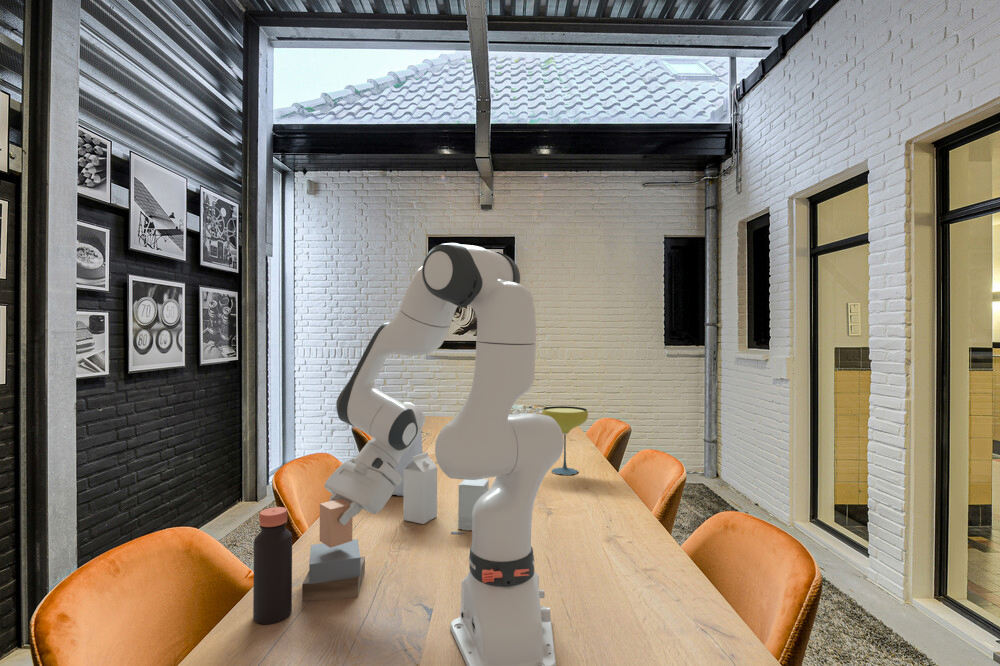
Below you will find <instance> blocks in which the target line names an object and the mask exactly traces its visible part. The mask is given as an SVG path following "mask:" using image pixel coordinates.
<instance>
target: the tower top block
mask: <svg viewBox="0 0 1000 666" xmlns="http://www.w3.org/2000/svg"><path fill="white" fill-rule="evenodd" d="M360 557H361V552H360V545H359V539H358V538H354V539H352V541H350V542H347V543H344V544H341V545H338V546H335V547H331V548H330V547H328V546H327V545H325V544H324V543H322V542H321V543H316V544H310V552H309V564H308V565H309V567H308V572H309V584H314V583H321V582H328V581H334V580H341V579H348V578H354V577H360Z"/></svg>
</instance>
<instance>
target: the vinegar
mask: <svg viewBox="0 0 1000 666" xmlns="http://www.w3.org/2000/svg"><path fill="white" fill-rule="evenodd" d="M258 520H259V528H260V529H261V530H260V532H259V533H258V534H257V535H256V537H254V539H253V591H252V593H253V599H252V600H253V602H252V603H253V605H252V606H253V607H252V608H253V609H252V611H253V612H252V614H253V615H252V617H253V621H254V622H255V623H257V624H260V625H271V624H276V623H279V622H281V621H283V620H285V619H287V618H288V617H289V616H290V615H291V613H292V611H293V609H292V608H293V606H292V604H293V603H292V602H293V534H292V532H291V531H290V530H289V529H287V528H286V526H287V524H288V509H287V508H286V507H283V506H273V507H270V508H269V507H268V508H266V509H263V510H261V511H260V512H259V519H258Z"/></svg>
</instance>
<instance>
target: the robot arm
mask: <svg viewBox="0 0 1000 666" xmlns="http://www.w3.org/2000/svg"><path fill="white" fill-rule="evenodd" d="M520 283H521V273H520V269H519V267H518V265H517V264H516V262H515V261H514V260H513V259H512V258H511V257H510V256H508V255H506V254H504V253H502V252H497V251H493V250H489V249H488V248H487V249H486V248H484V247H482V246H478V245H473V244H472V245H471V244H460V243H457V242H447V243H445V242H444V243H441V244H438V245H435V246H434V247H432V248H431V249H430V250H429V251H428V252H427V254H426V256H425V258H424V260H423V263H422V266H421V267H418V269H417V270H416V272H415V274H414V275H413V277H412V280H411V281H410V283H409V284H408V287H407V289H406V291H405V293H404V296H403V298H402V301H401V304H400V307H399V309H398V312H397V314H396V315H395V317H394V318H393V319H392V320H391V321H390V322H385V323H382V324H381V325H380V326H379V327H378V329H376V331H375V333H373V336H371V338H370V340H369V343H368V344H367V346H366V348H365V350H364V352H363V354H362V355H361V357H360V359H359V362H358V363H357V365H356V367H355V369H354V371H353V372H352V375H351V376H350V378H349V380H348V382H347V383H346V385H345V386H344V387H343V389H342V390H341V392H340V393H339V395H338V397H337V399H336V405H335V406H336V413H337V416H338V418H339V420H340V421H341V422H343V423H345V424H348V425H349V426H351V427H354V428H357V429H358V430H360V431H362V433H365V434H366V435H368V436H369V437H371V439H369V440H368V441H367V442H366V444H365V445H364V446H363V447H362V448H361V450H360V451H359V453H358V454H357V455H356V456H355V457H354V458H351V459H349V460H347V461H345V462H343V463H342V464H340V465H339V466H338V467H337V468H336V470H335V471H333V473H332V474H331V475H330V476H329V477H328V478H327V479H326V481H325V482H324V485H323V488H325V490H326V491H328V492H329V493H330V494H331V495H330V497H329V498H328V499H329V500H328V502H329V501H333V500H337V499H341V498H342V499H344V500H346V501H348V502H350V503H351V504H350V508H349V509H348V510H346V511H345V512H344V513H341V514H340V515H339V517H338V518H337V521H338V522H340V523H341V524H343V525H346V524H347V522H348V521H349V520H350V518H352V519H353V517H355V516H356V515H358V514H359V513H360V512H361V511H362V510H364V511H367V512H369V513H371V514H372V515H376V514H378V513H379V512H381V511H382V509H383V508H384V507H385V505H386V504H387V503H388V501H389V500H390V499H391V497H392V494H393V492H394V490H395V486H399V485H400V483H401V482H402V480H403V479H402V477H401V476H400V475H399V474H398V472H397V471H396V470H395V468H396V467H397V465H398V464H399V461H400V459H401V457H402V456H403V454H405V453H406V452H407V451H408V450H409V449H410V447H411V446H412V445H413V443H414V442H415V440H416V438H417V437H418V435H419V433H420V431H421V432H422V429H423V427H424V425H425V423H426V416H425V414H424V412H423V411H422V410H421V408H420V407H418V406H417V405H416V404H414V403H413V402H410V401H403V402H402V401H400V400H398V399H397V398H394V397H392V396H390V395H389V394H386V393H385V392H383V391H382V390H380V389H379V388H378V387H377V386H376V383H375V381H376V379H377V377H378V376H379V373H380V372H381V369H382V368H383V366H384V364H385V362H386V360H387V359H388V357H389V356H390V355H404V356H409V357H410V356H423V355H428V354H431V353H433V352H434V351H435V352H436V350H437V349H439V348H441V346H442V345H443V344H444V341H445V339H446V337H447V335H448V332H449V330H450V327H451V324H452V322H453V320H454V315H455V313H456V311H457V308H458V307H459V308H466V307H467V306H469V307H471V308H472V310H473V311H474V314H475V315H476V316H475V317H476V340H475V341H476V343H475V345H476V346H475V361H474V371H473V378H472V384H471V387H470V391H469V393H468V395H467V398H466V400H465V402H464V403H463V405H462V406H461V408H460V410H459V411H458V412H457V414H456V415H455V416H454V417H453V418H452V419H451V420H450V421H449V422H447V423H446V424H445V425H444V426H443V427H442V428H441V430H440V431H439V433H438V435H437V437H436V440H435V444H434V445H435V448H434V454H435V455H434V456H435V459H436V462H437V465H438V466H439V469H440V470H441V471H442V473H443V474H445V476H447V477H448V478H449V479H455V480H478V479H490V478H495V479H494V481H493V482H492V485H491V486H489V490H488V491H487V492H486V493H485V494H483V495H482V496H481V497H480V498H479V499H478V500H477V502H476V503H475V505H474V508H473V512H472V531H471V540H472V541H471V546H470V548H469V555H468V563H469V565H468V566H469V572H468V574H467V575H466V576H465V577H464V578H463V579H462V580H461V588H460V610H459V611H460V613H459V614H460V615H459V617H456V618H454V619H453V620H452V621H451V623H450V631H451V633H452V636H453V638H454V640H455V643H456V645H457V647H458V648H459V651H460V653H461V656H462V658H463V660H464V663H465V665H466V666H557V661H556V659H557V658H556V652H555V651H556V650H555V642H554V636H553V627H552V626H553V625H552V619H551V608H550V607H549V606H543V605H541V599H545V595H546V594H545V590H544V589H540V575H539V574H538V573H537V572H535V554H534V548H533V546H532V526H533V525H532V523H533V521H532V520H533V510H534V505H535V500H536V498H537V495H538V491H539V490H540V486H541V484H542V482H543V481H544V478H545V477H546V475H547V473H548V472H549V471H550V469H551V468H552V467H553V466H554V465H555V464H556V463H557V462H558V461H559V459H560V458H561V456H562V453H563V452H564V435H563V434H562V430H561V428H560V426H559V425H558V423H557V422H556V421H555V420H554V419H553V418H552V417H550V416H546V415H542V414H540V413H532V412H524V413H512V414H510V412H511V410H512V408H513V407H514V405H515V403H516V402H517V401H518V399H520V398H521V397H522V396H524V395H526V394H527V393H528V392H529V391H530V390H531V388H532V387H533V385H534V382H535V374H536V349H537V347H536V346H537V323H536V311H535V304H534V298H533V294H532V292H531V290H529V288H527V287H526V286H524V284H522V283H521V284H520Z"/></svg>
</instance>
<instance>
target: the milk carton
mask: <svg viewBox="0 0 1000 666" xmlns="http://www.w3.org/2000/svg"><path fill="white" fill-rule="evenodd" d="M402 513H403V515H402V516H403V518H402V519H403V521H407V522H411V523H416V524H420V525H425V524H426V523H428V522H430V521H431V520H433V519H435V518H437V517H438V466H437V464H436V463H435V462H434V461H433V459H432V458H431V457H430V456H429V451H426V452H423V454H420V455H417V456H414V457H413V461H412V462H411V463H410V464H409V465H408V466H407V467H406V468H404V496H403V512H402Z"/></svg>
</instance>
